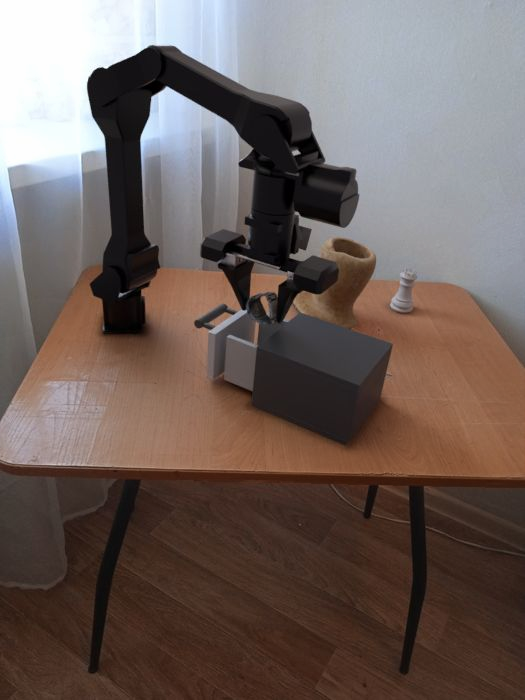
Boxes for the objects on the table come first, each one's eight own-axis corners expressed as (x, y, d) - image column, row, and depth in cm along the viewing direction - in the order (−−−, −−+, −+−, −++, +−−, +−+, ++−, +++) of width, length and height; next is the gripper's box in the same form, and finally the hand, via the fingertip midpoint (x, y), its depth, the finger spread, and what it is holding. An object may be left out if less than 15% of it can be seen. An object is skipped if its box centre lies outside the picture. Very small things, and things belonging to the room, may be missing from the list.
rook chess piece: (415, 308, 111) (424, 271, 107) (407, 316, 108) (417, 278, 104) (394, 301, 113) (402, 264, 109) (386, 309, 110) (394, 271, 106)
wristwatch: (270, 326, 82) (255, 296, 82) (288, 317, 78) (273, 285, 78) (254, 334, 81) (239, 302, 80) (272, 325, 76) (256, 292, 76)
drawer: (183, 368, 84) (184, 322, 80) (226, 338, 93) (228, 295, 89) (287, 411, 77) (293, 364, 73) (322, 374, 86) (329, 330, 82)
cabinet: (251, 405, 79) (256, 346, 74) (292, 366, 89) (299, 312, 84) (346, 446, 74) (359, 385, 69) (379, 399, 83) (393, 343, 78)
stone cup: (374, 334, 100) (391, 256, 93) (312, 339, 97) (325, 258, 89) (339, 297, 113) (352, 224, 105) (284, 300, 109) (292, 226, 101)
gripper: (363, 211, 74) (344, 315, 82) (244, 181, 82) (237, 279, 90) (329, 232, 66) (311, 345, 74) (199, 197, 73) (196, 303, 81)
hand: (262, 315), depth 80 cm, fingers closed on wristwatch, 5 cm apart
